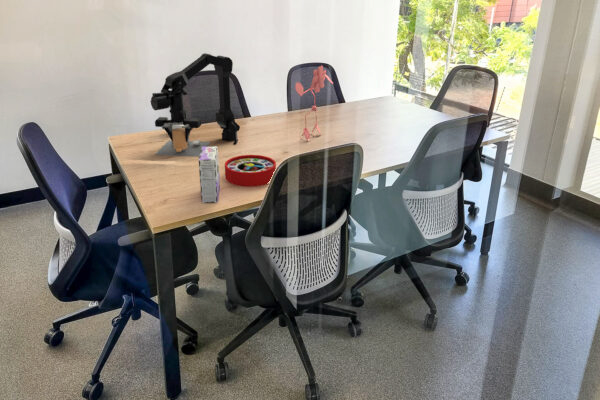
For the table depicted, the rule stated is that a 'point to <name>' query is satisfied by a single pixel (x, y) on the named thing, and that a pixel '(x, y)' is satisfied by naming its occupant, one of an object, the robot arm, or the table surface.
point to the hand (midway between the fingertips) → (180, 141)
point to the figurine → (317, 83)
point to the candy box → (209, 174)
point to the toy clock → (249, 170)
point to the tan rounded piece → (179, 139)
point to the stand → (191, 150)
